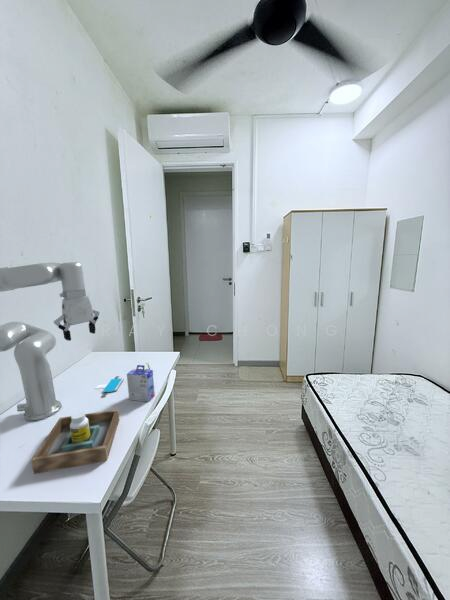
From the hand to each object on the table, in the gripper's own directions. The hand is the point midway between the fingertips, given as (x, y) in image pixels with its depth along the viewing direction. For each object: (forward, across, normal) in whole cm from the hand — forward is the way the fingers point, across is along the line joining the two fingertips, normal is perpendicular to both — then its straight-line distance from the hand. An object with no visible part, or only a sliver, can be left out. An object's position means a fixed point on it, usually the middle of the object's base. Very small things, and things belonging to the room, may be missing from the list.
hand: (80, 336), depth 104 cm
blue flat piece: (+31, +13, +7) cm, 35 cm away
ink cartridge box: (+31, +15, -15) cm, 37 cm away
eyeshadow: (+31, +32, +4) cm, 45 cm away
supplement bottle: (+30, -14, -20) cm, 38 cm away
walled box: (+30, -14, -20) cm, 39 cm away
